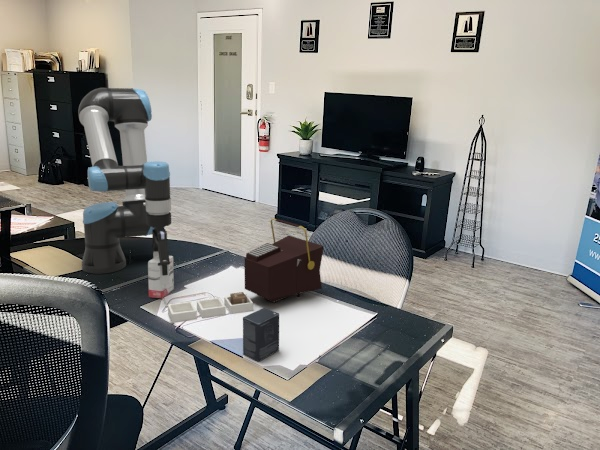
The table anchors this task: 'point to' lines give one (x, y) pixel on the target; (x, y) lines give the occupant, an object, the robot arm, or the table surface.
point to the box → (260, 334)
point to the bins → (206, 309)
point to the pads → (164, 302)
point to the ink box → (154, 278)
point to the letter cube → (238, 298)
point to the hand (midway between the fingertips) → (161, 277)
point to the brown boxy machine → (283, 267)
